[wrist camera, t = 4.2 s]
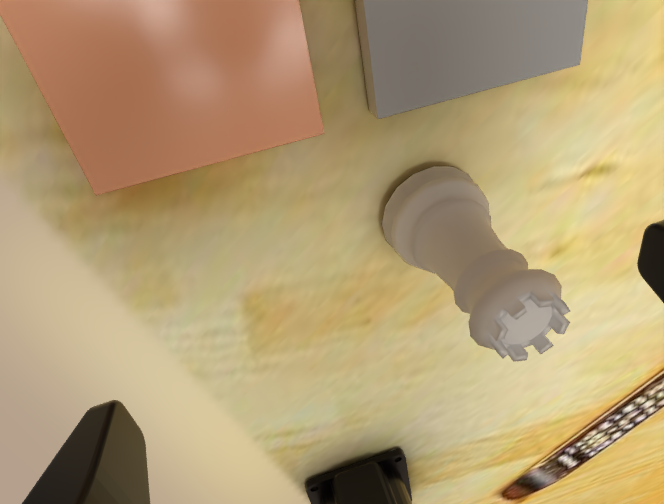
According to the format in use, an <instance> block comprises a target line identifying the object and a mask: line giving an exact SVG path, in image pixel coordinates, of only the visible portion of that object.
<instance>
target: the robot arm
mask: <svg viewBox="0 0 664 504" xmlns="http://www.w3.org/2000/svg"><path fill="white" fill-rule="evenodd" d="M637 264H638V270H639V272H640V274H641V276H642V277H643V279H644V280H645V281H646V282H647V284H648V285H649V286H650V287H651V288H652V290H653V291H654V292H655V293H656V294H657V296H658V297H659V298H660V299H661V300H662V302H663V303H664V220H662V221H659V222H656V223H653V224H651V225H649V226H648V227H647V228H646V229H645V231H644V235H643V239H642V244H641V248H640V253H639V257H638V263H637ZM305 488H306V492H307V494H308V497H309V499H310V502H311V504H412V497H411V490H410V484H409V477H408V470H407V464H406V457H405V455H404V452H403V450H401V449H396V450H393V451H390V452H387V453H384V454H382V455H379V456H376V457H373V458H370V459H367V460H364V461H362V462H359V463H356V464H353V465H350V466H347V467H344V468H341V469H339V470H336V471H333V472H330V473H327V474H324V475H321V476H319V477H316V478H313V479H310V480H308V481H307V482H306V483H305ZM22 504H150V496H149V484H148V471H147V458H146V445H145V440H144V436H143V433H142V431H141V430H140V428H139V426H138V425H137V424H136V422H135V421H134V419H133V418H132V416H131V415H130V414H129V412H128V411H127V409H126V408H125V406H124V405H123V404H122V403H121V402H119V401H118V400H112V401H109V402H106V403H103V404H100V405H97V406H94V407H92V408H90V409H89V410H88V411H87V412H86V413H85V415H84V416H83V418H82V419H81V421H80V422H79V423H78V425H77V426H76V428H75V429H74V430H73V432H72V433H71V435H70V436H69V438H68V439H67V440H66V442H65V443H64V445H63V446H62V447H61V449H60V450H59V452H58V453H57V454H56V456H55V457H54V459H53V460H52V462H51V463H50V465H49V466H48V467H47V469H46V470H45V472H44V473H43V474H42V476H41V477H40V479H39V480H38V481H37V483H36V484H35V486H34V487H33V489H32V490H31V491H30V493H29V494H28V496H27V497H26V499H25V500H24V502H23V503H22Z"/></svg>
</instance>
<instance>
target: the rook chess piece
mask: <svg viewBox="0 0 664 504" xmlns="http://www.w3.org/2000/svg"><path fill="white" fill-rule="evenodd" d="M382 227H383V231H384V235H385V239H386V241H387V242H388V243H389V244H390V245H391V246H392V247H393V248H394V250H395V251H396V252H397V253H398V255H399V256H400V257H401V258H402V259H403V260H404V261H405V262H406V263H408V264H410V265H412V266H415V267H418V268H420V269H423V270H426V271H429V272H432V273H436V274H437V275H438V276H439V277H440V278H441V279H442V280H443V281H444V282H445V283H447V284H448V285H449V286H450V287H451V288H452V290H453V291H454V297H455V303H456V305H457V306H458V307H459V308H460V309H461V310H462V311H463V312H466V313H469V314H470V319H469V328H470V336H471V337H472V338H473V339H474V340H475V341H476V343H477V344H478V345H480V346H484V347H487V348H491V349H495V350H496V351H497V352H498V354H499V355H500V356H501V357H502V358H504V357H505V356H506V355H509V356H510V358H511V359H512V360H513V361H522V360H527V357H528V353H527V352H526V350H525V349H524V348H525V347H527V346H530V345H533V346H534V347H535V348H536V349H537V350H538V352H539V353H540V354H542V353H543V352H545V351H546V350H548V349H549V348H551V347H552V346H553V344H552V343H551V342H550V341H549V339H548V338H547V337H546V336H545V335H546V334H547V333H548V332H549V331H550V329H551V328H552V329H553V330H554V331H555V332H556V333H557V334H564V333H565V331H566V329H567V327H568V325H569V323H570V322H569V321H568V320H567V319H566V318H565V317H564V316H563V315H564V314H566V313H568V312H570V310H569V308H568V307H567V305H566V304H565V302H564V301H563V300H562V299H561V285H560V283H559V281H558V280H557V278H556V277H555V275H553V274H551V273H548V272H546V271H544V270H534V269H528V262H527V261H526V259H525V258H524V256H523V255H522V254H520V253H518V252H516V251H513V250H511V249H509V250H508V249H507V248H506V247H505V246H504V245H503V244H502V243H501V241H500V240H499V238H498V237H497V236H496V234H495V233H494V231H493V230H492V227H491V216H490V215H489V203H488V201H487V199H486V197H485V195H484V194H483V192H482V191H481V189H480V188H479V186H478V185H477V184H475V183H474V182H473V181H472V179H471V178H470V176H469V175H468V174H467V173H465V172H463V171H461V170H459V169H457V168H455V167H446V166H433V167H431V168H428V169H425V170H423V171H420V172H417V173H415V174H413V175H412V176H410V177H409V178H408V179H407V180H405V181H404V182H403V183H402V184H401V185H399V186H398V187H397V188H396V190H395V191H394V193H393V195H392V196H391V198H390V199H389V201H388V202H387V204H386V206H385V211H384V216H383V221H382Z"/></svg>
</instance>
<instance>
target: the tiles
mask: <svg viewBox="0 0 664 504" xmlns="http://www.w3.org/2000/svg"><path fill="white" fill-rule="evenodd" d="M587 4H588V0H355V6H356V13H357V21H358V28H359V36H360V44H361V51H362V59H363V67H364V74H365V82H366V90H367V97H368V105H369V111H370V112H371V113H372V114H373V115H374V116H375V117H376V118H377V119H380V118H384V117H388V116H391V115H395V114H399V113H403V112H406V111H410V110H414V109H417V108H421V107H425V106H428V105H432V104H436V103H440V102H443V101H447V100H451V99H454V98H458V97H462V96H465V95H469V94H473V93H477V92H480V91H484V90H488V89H491V88H495V87H499V86H502V85H506V84H510V83H514V82H517V81H521V80H525V79H528V78H532V77H536V76H539V75H543V74H547V73H551V72H554V71H558V70H562V69H565V68H569V67H573V66H576V65H580V60H581V52H582V44H583V36H584V28H585V20H586V12H587ZM0 15H1V17H2V19H3V21H4V23H5V25H6V26H7V28H8V30H9V32H10V34H11V36H12V38H13V40H14V42H15V44H16V45H17V47H18V49H19V51H20V53H21V55H22V57H23V59H24V61H25V62H26V64H27V66H28V68H29V70H30V72H31V74H32V76H33V78H34V79H35V81H36V83H37V85H38V87H39V89H40V91H41V93H42V95H43V96H44V98H45V100H46V102H47V104H48V106H49V108H50V110H51V112H52V113H53V115H54V117H55V119H56V121H57V123H58V125H59V127H60V129H61V130H62V132H63V134H64V136H65V138H66V140H67V142H68V144H69V146H70V147H71V149H72V151H73V153H74V155H75V157H76V159H77V161H78V163H79V165H80V166H81V168H82V170H83V172H84V174H85V176H86V178H87V180H88V182H89V183H90V185H91V187H92V189H93V191H94V193H95V195H99V194H103V193H107V192H110V191H114V190H118V189H121V188H125V187H129V186H132V185H136V184H140V183H144V182H147V181H151V180H155V179H158V178H162V177H166V176H169V175H173V174H177V173H181V172H184V171H188V170H192V169H195V168H199V167H203V166H206V165H210V164H214V163H218V162H221V161H225V160H229V159H232V158H236V157H240V156H243V155H247V154H251V153H255V152H258V151H262V150H266V149H269V148H273V147H277V146H280V145H284V144H288V143H292V142H295V141H299V140H303V139H306V138H310V137H314V136H317V135H321V134H324V129H323V124H322V119H321V113H320V108H319V103H318V98H317V93H316V87H315V82H314V77H313V72H312V67H311V61H310V56H309V51H308V46H307V41H306V35H305V30H304V25H303V20H302V15H301V9H300V4H299V0H0Z"/></svg>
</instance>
